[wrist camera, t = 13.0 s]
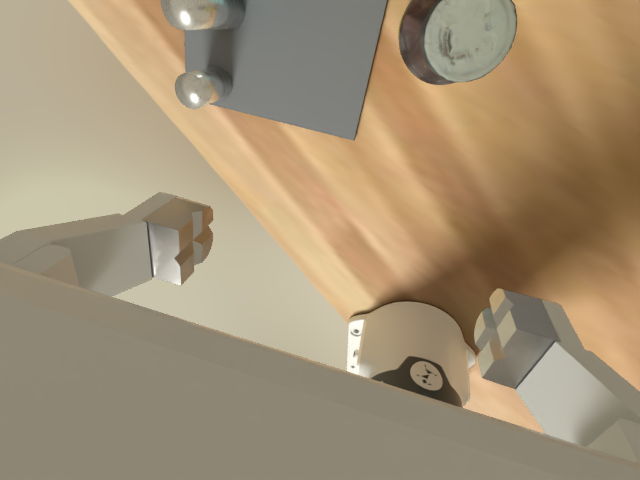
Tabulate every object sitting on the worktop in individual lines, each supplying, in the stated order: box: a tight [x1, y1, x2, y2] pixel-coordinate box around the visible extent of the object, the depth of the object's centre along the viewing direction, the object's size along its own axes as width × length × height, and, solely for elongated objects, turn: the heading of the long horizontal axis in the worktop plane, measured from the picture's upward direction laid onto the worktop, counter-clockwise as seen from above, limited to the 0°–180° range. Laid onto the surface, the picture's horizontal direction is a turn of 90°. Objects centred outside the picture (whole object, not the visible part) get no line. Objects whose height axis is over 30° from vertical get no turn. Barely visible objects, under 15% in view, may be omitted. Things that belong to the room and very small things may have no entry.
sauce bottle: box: [398, 0, 517, 85], centre depth 24 cm, size 7×6×20 cm
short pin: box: [175, 67, 233, 109], centre depth 36 cm, size 3×3×6 cm
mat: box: [185, 0, 387, 140], centre depth 34 cm, size 21×20×1 cm
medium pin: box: [161, 0, 245, 30], centre depth 31 cm, size 3×3×9 cm
